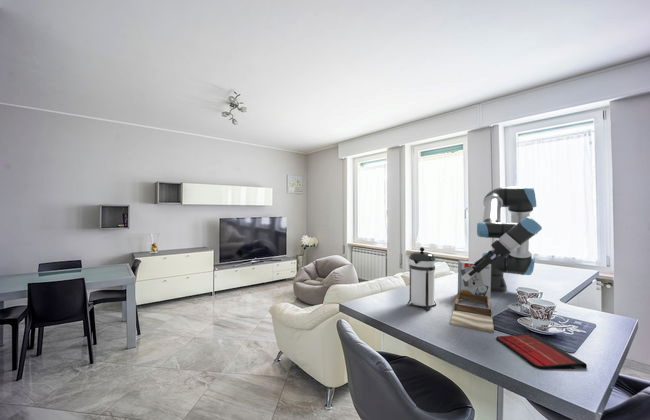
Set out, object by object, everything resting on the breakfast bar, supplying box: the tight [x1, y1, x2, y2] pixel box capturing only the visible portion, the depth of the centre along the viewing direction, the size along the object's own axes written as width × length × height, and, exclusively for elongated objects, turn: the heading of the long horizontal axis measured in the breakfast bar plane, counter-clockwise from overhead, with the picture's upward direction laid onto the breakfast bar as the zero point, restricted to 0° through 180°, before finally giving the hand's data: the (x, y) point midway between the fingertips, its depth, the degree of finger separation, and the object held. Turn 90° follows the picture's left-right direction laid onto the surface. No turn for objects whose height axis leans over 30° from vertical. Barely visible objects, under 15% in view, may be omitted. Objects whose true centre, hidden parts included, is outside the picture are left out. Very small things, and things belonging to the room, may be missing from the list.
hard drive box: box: [457, 259, 491, 298], centre depth 154 cm, size 16×8×20 cm, turn 73°
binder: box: [495, 332, 588, 370], centre depth 95 cm, size 16×2×21 cm
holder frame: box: [454, 291, 492, 317], centre depth 139 cm, size 21×15×4 cm
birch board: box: [449, 310, 495, 334], centre depth 120 cm, size 16×16×1 cm
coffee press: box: [406, 247, 437, 311], centre depth 141 cm, size 17×16×30 cm
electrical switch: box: [461, 266, 484, 288], centre depth 127 cm, size 9×5×9 cm, turn 116°
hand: (464, 277), depth 129 cm, fingers closed on electrical switch, 9 cm apart
